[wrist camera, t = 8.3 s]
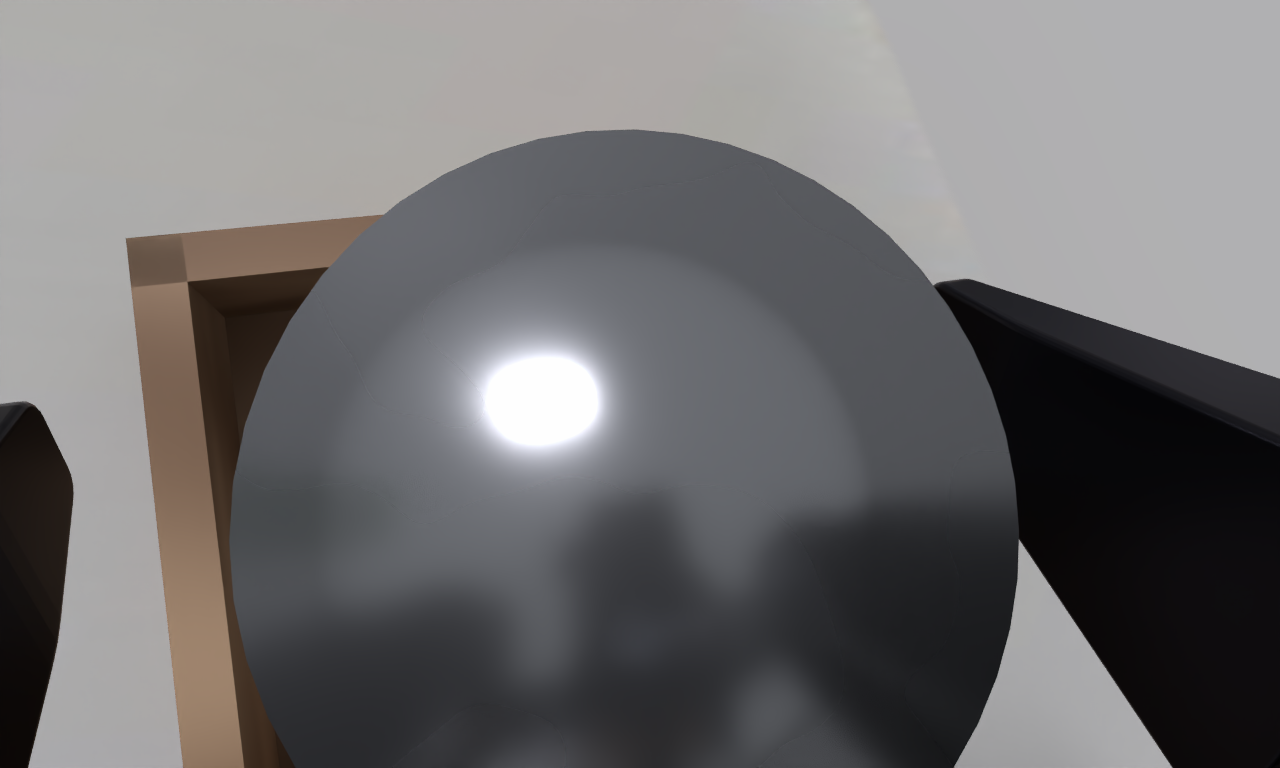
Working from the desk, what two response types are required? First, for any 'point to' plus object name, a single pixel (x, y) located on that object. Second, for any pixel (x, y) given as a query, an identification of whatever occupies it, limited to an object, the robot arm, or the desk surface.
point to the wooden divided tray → (214, 446)
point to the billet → (624, 480)
